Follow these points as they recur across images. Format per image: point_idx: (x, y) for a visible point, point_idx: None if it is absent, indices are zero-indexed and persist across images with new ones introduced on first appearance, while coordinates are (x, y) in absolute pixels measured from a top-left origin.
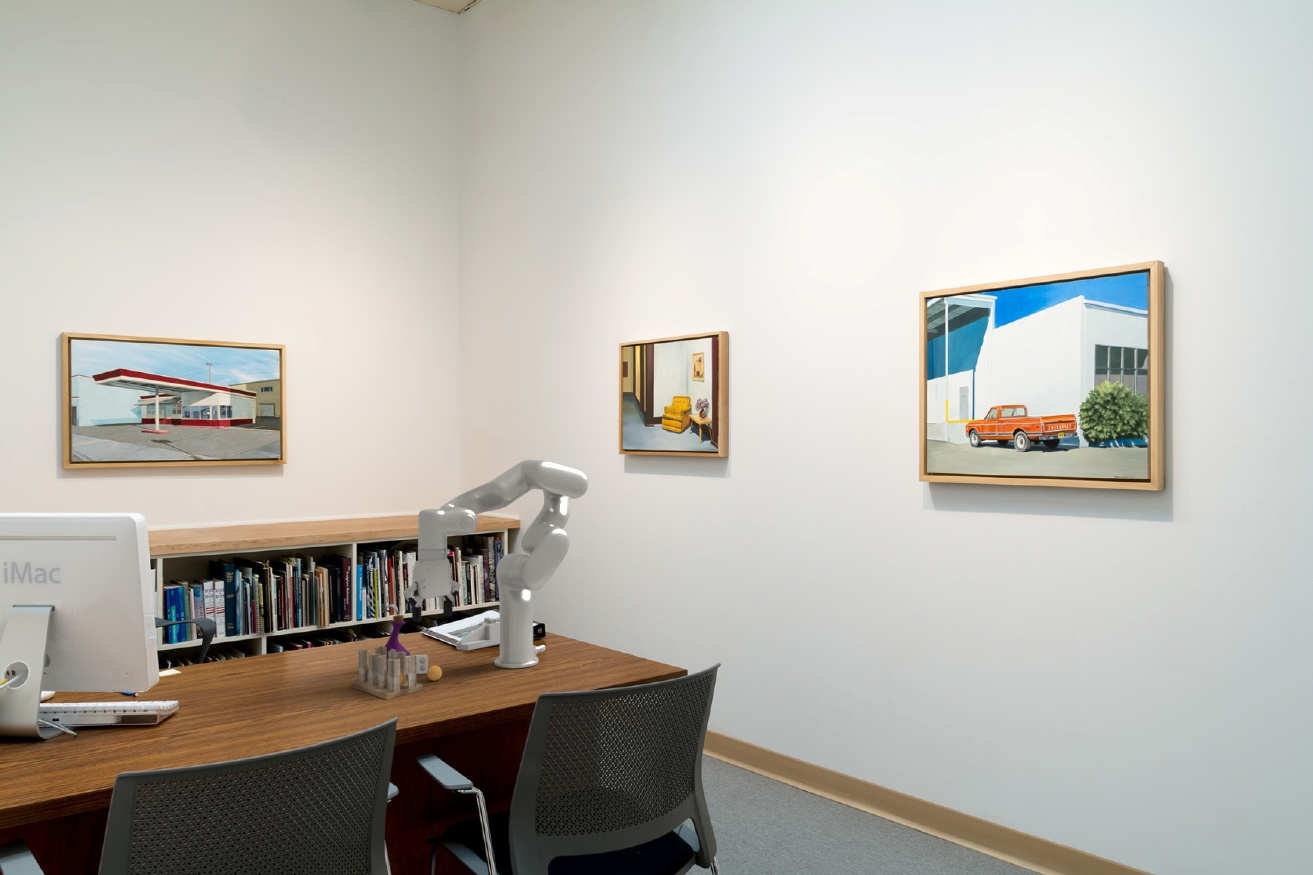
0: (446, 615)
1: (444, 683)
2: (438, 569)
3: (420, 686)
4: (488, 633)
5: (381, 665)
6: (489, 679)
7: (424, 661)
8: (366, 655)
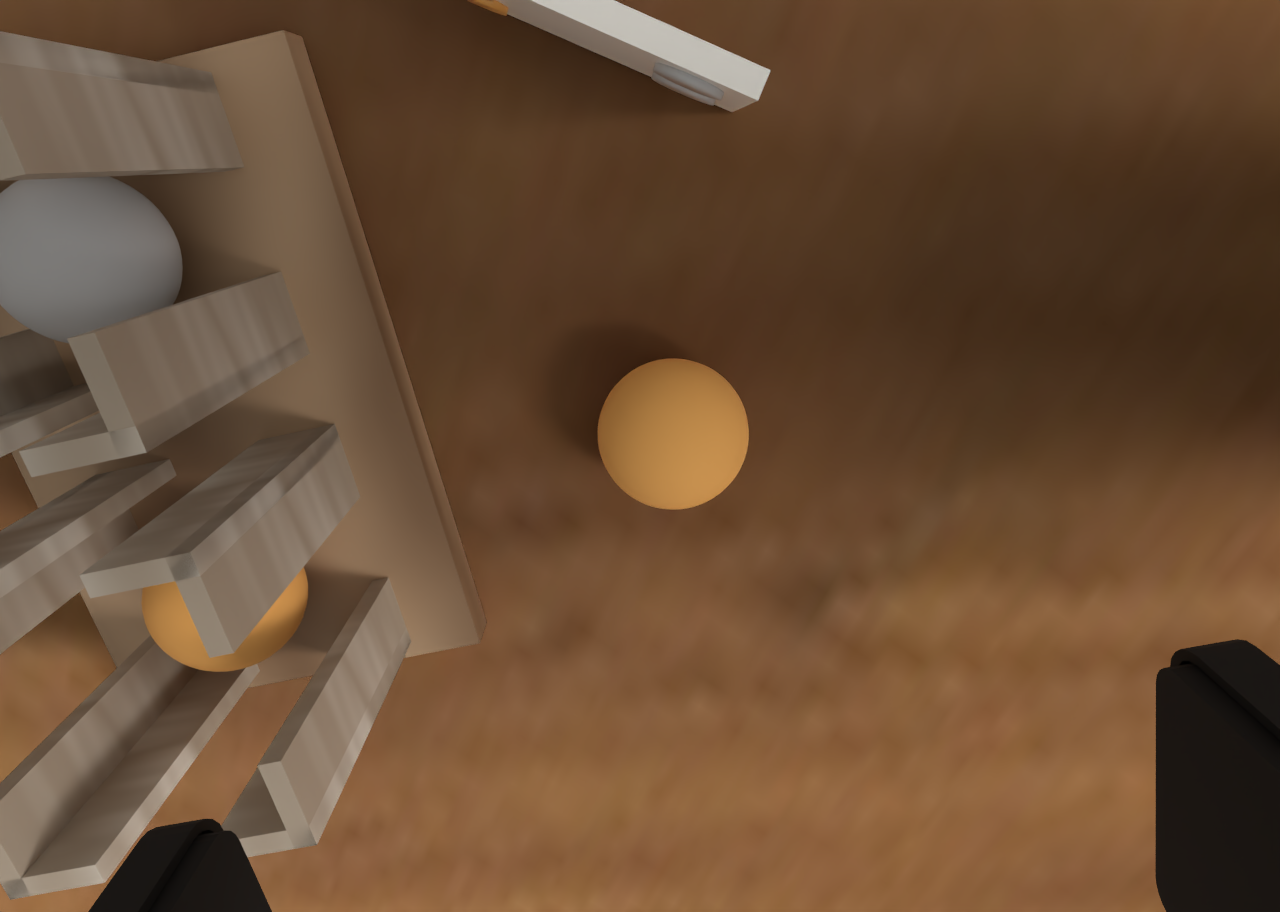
0: (1157, 783)
1: (700, 550)
2: None
3: (444, 649)
4: None
5: None
6: (1049, 656)
7: (704, 94)
8: None
